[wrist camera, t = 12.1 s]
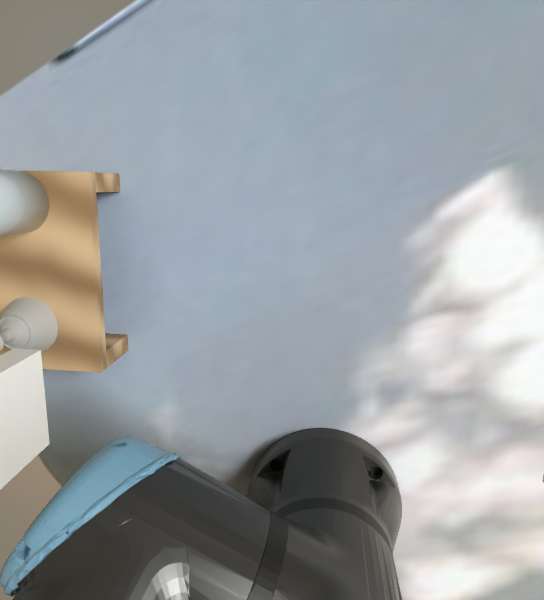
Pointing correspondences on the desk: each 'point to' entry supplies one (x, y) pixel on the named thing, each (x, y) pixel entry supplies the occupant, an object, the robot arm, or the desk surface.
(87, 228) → the shelf
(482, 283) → the desk surface
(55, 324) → the chalice
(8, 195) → the white glossy rounded part
